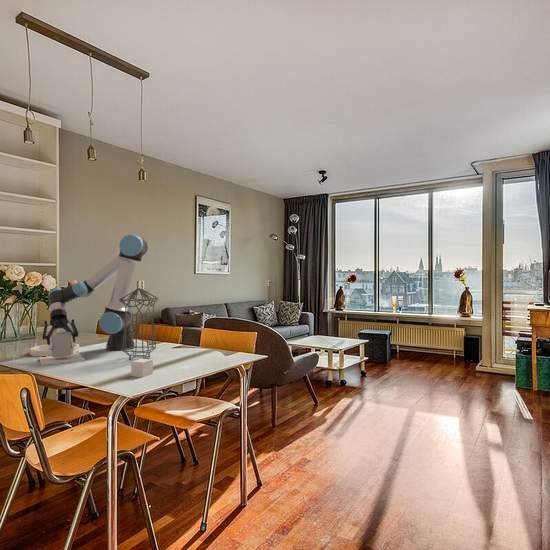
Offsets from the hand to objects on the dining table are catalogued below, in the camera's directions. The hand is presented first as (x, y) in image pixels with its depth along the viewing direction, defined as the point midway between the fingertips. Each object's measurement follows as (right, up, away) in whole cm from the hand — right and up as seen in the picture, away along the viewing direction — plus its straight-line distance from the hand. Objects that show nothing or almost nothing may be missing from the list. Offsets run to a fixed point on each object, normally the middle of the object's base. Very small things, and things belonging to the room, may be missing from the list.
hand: (62, 348), depth 197 cm
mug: (-2, -4, +2) cm, 5 cm away
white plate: (-16, -6, +24) cm, 30 cm away
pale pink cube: (+48, -6, -29) cm, 57 cm away
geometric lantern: (+36, -6, +5) cm, 37 cm away
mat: (-2, -6, +3) cm, 7 cm away
